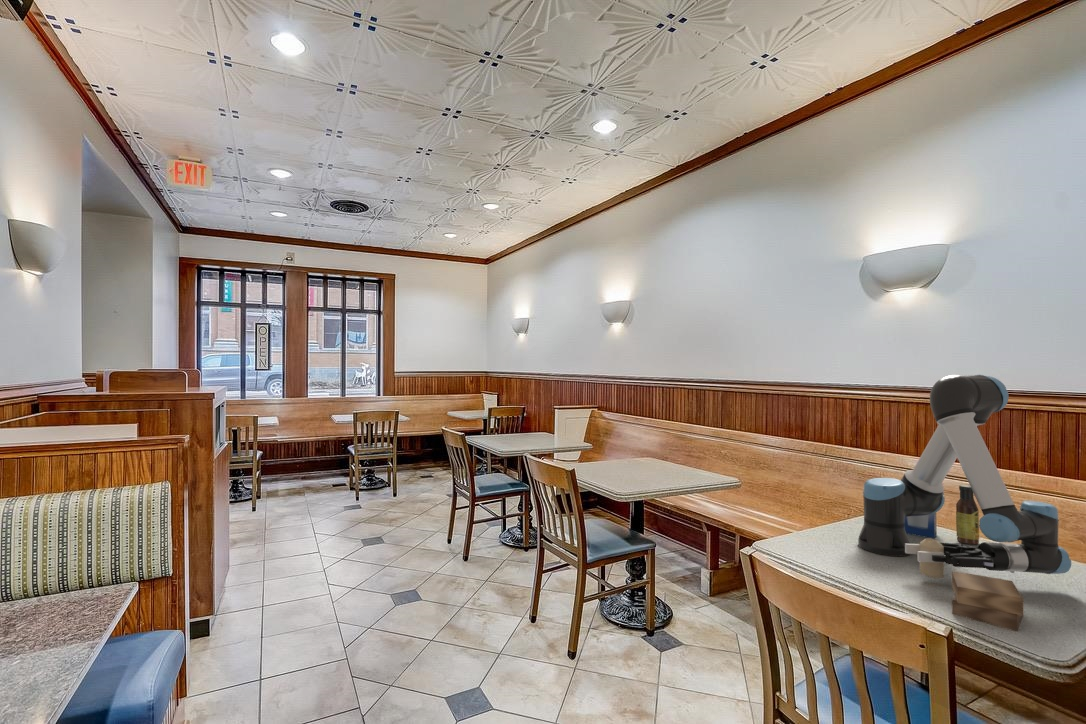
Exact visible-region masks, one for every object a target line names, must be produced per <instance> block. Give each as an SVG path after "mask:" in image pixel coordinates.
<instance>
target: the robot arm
mask: <svg viewBox="0 0 1086 724" xmlns="http://www.w3.org/2000/svg"><path fill="white" fill-rule="evenodd" d="M1008 402H1009V391H1008V389H1007V387H1006V385H1005V384H1004V383H1003V382H1002V381H1001V380H1000V379H999V378H995V377H993V376H991V375H983V374H973V375H972V374H971V375H969V374H968V375H967V374H965V375H963V374H962V375H961V374H960V375H959V374H951V375H947V376H944V377H942V378H940V379H938V380H937V381H935V383H934V384H933V386H932V387H931V390H930V394H929V403H930V409H931V413H932V415H933V417H934V420H935V422H936V424H937V427H936V428H935V431H934V432H933V434H932V436H931V437H930V439H929V441H928V443H927V444H926V447H925V448H924V450H923V452H922V453H921V455H920V457H919V459H918V460H917V462H916V464H915V466H914V468H913V469H909V470H906V471H905V473H904V474H903V476H902V478H901V479H897V478H895V477H894V478H893V477H892V478H891V477H874V478H870V479H868V480H866V481H865V482H864V483H863V491H862V495H863V525H862V527H861V530H860V533H859V535H858V539H857V540H858V541H857V544H858V546H859V548H861V549H863V550H865V551H867V552H870V553H874V554H878V555H884V556H889V557H890V556H891V557H908V556H910V555H917V556H916V557H917V562H919V563H920V562H935V563H944V564H947V565H951V566H952V567H954V568H972V569H973V568H975V569H978V568H979V569H986V570H988V571H995V572H996V571H997V572H1003V571H1005V572H1010V573H1011V574H1015V572H1016V573H1034V574H1046V575H1053V574H1055V575H1056V574H1057V575H1060V574H1061V575H1062V574H1066V573H1068V572H1069V571H1070V570H1071V568H1072V559H1070V554H1069V553H1068V551H1067V550H1065V548H1063V547H1062V546H1059V521H1060V519H1059V512H1058V511H1059V510H1058V508H1057V507H1056V506H1055V505H1053V504H1052V503H1048V502H1043V501H1037V500H1024V501H1022V502H1021V504H1020V508H1019V510H1018V508H1017V507H1016V505H1015V502H1014V501H1013V499H1012V496H1011V494H1010V493H1009V490H1008V488H1007V486H1006V484H1005V482H1004V480H1003V478H1002V476H1001V474H1000V472H999V470H998V468H997V466H996V464H995V463H996V462H995V461H994V459H993V457H992V455H991V453H990V451H989V449H988V447H987V445H986V442H985V440H984V439H983V436H982V434H981V432H980V430H979V428H978V426H982V425H986V423H987V422H988V420H989V418H990V417H991V415H992V414H993V413H997V412H1000V411H1001V410H1003V409H1004V408H1005V407H1006V406H1007V405H1008ZM956 460H958V462H959V464H960V467H961V469H962V471H963V474H964V475H965V478H966V479H967V482H968V484H969V486H971V489H972V491H973V496H974V498H975V499H976V502H977V504H978V506H979V508H980V510H981V513H982V516H981V517H980V518H979V531H980V532H981V533H982V534H983V535H984V537H986V538H987V539H989V540H991V541H993V542H990V541H989V542H987V541H986V542H981V543H979V544H978V546H972V545H967V546H964V543H962V542H956V543H955V542H953V543H951V542H939V543H940V544H942V545H943V546H944V553H943V552H925V551H920V543H911V542H910V539H909V536H908V534H907V533H906V531H905V517H908V516H921V515H922V516H923V515H929V514H933V513H935V512H936V513H937V512H939V511H940V510H941V509H942V508H943V507H944V504H945V502H946V501H945V499H946V498H945V497H944V495H945V492H944V491H945V486H944V485H943V481H944V480H945V479H946V476H947V475H948V473H950V470H951V469H952V467H953V465H954V464H955V462H956ZM1017 541H1020V543H1014V542H1017Z"/></svg>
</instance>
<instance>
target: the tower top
mask: <svg viewBox="0 0 1086 724" xmlns="http://www.w3.org/2000/svg"><path fill="white" fill-rule="evenodd" d="M951 587H952V591H953V593H954V596H956V599H957V602H958V603H962V604H967V605H972V606H977V607H982V608H987V609H992V610H997V611H1002V612H1007V613H1012V614H1017V615H1023V616H1024V597H1023V595H1022V594H1021V592H1020V591H1019V589H1018V588H1017V586H1016V585H1015V583H1014V581H1012V580H1009V579H1002V578H997V577H993V576H992V577H991V576H985V575H981V574H980V575H979V574H975V573H974V574H973V573H968V572H961V571H954V570H951Z"/></svg>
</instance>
